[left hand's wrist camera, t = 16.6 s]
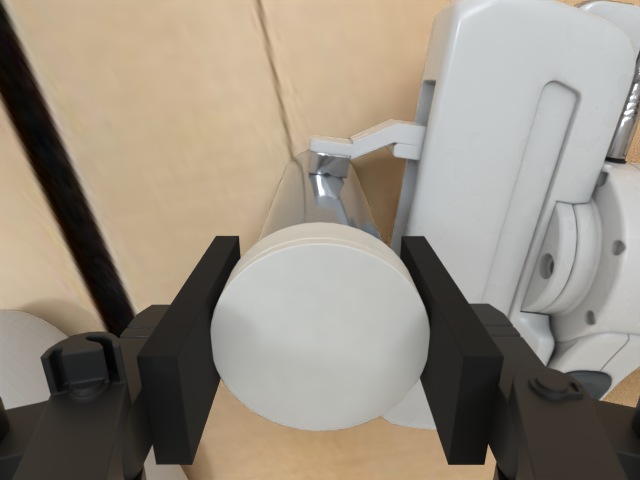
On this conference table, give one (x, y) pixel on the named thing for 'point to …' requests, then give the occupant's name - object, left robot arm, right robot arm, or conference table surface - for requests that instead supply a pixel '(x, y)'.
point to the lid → (320, 328)
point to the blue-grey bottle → (318, 200)
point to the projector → (28, 374)
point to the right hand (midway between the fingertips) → (301, 219)
